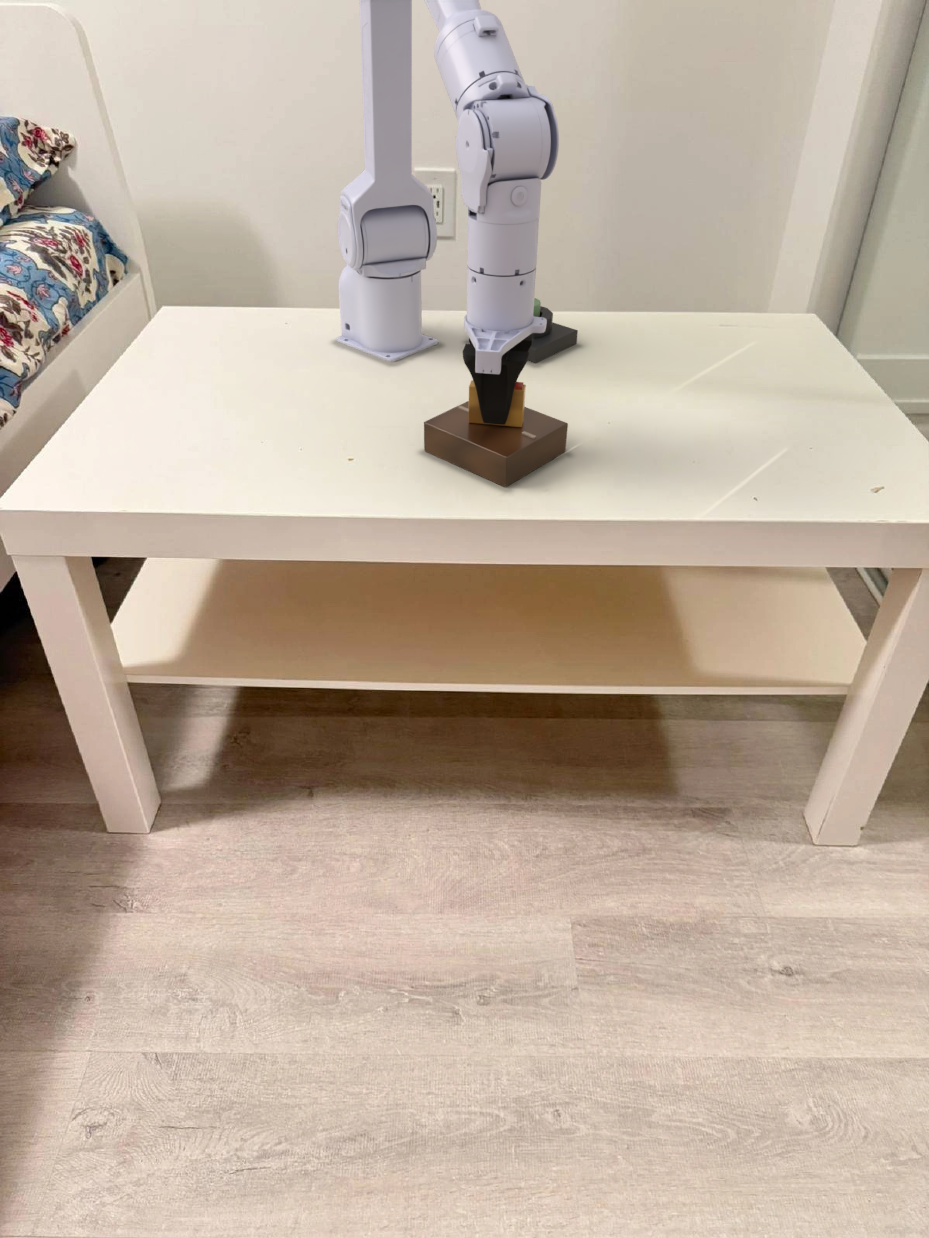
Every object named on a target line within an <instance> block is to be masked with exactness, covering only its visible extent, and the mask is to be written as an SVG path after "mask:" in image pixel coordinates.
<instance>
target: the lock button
mask: <svg viewBox="0 0 929 1238" xmlns="http://www.w3.org/2000/svg"><path fill="white" fill-rule="evenodd" d="M541 304H542V302H541V300H540V299H538V298H536V297H534V311H533V316H535V317H540V306H542V305H541Z"/></svg>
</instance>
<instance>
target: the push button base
mask: <svg viewBox="0 0 929 1238" xmlns="http://www.w3.org/2000/svg"><path fill="white" fill-rule="evenodd" d="M540 317H543V318H546V320H547V324H546V330H545V332H544V333H533V342H532V345H531V347H530V348H529V350H528V352H529V357H528V360H527V362H529V363H532V364H537V363H539V362H541V361H544V360H546V359H549V358H550V357H552V356H554V355H556V354H559V353H561V352H563V351H564V350H567V349H569V348H571V347H573V346H575V345H577V344H578V343H577V342H578V332H579V331H578V330H577V329H575V328H572V327H569V326H565V325H562V324H560V323H555V322H553V319H554V312H552V311H551V310H550V309H549V308H548V307H545V306H542V305H540Z"/></svg>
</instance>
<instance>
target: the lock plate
mask: <svg viewBox="0 0 929 1238" xmlns="http://www.w3.org/2000/svg"><path fill="white" fill-rule="evenodd" d="M468 413H469V400H467V401H465V402H463V403H460V404H458V405H456V406H454V407H452V408H450V409H448V410H446V411H444V412H442V413H440V414H437V415H435V416H434V417H432V418H429V419H428V420H426V421H424V422H423V447H424V448H423V450H424V452H426V453H428V454H431V455H432V456H435V457H437V458H439V459H442V460H444V461H446V462H448V463H450V464H453V465H455V466H457V467H459V468H461V469H464V470H466V471H468V472H471V473H473V474H474V475H475V474H476V475H477V476H479V477H482V478H484V479H486V480H489V481H491V482H493V483H495V484H498V485H500V486H501V487H504V488H506V487H508V486H510V485H511V484H514V483H516V482H517V481H518V480H520V479H522V478H524V477H525V476H527V475H528V474H530V473H532V472H534V471H535V470H537V469H539V468H541V467H542V466H544V465H545V464H548V463H549V462H550V461H552V460H554V459H556V458H557V457H559V456H561V455H562V454H564V453H566V451H567V450H566V449H567V437H568V427H569V423H568V422H566V421H563V420H560V419H558V418H555V417H552V416H550V415H547V414H545V413H542V412H539V411H537V410H534V409H532V408H529V407H526V406H524V421H523V425H522V427H512V426H501V425H489V424H477V423H469V422H468Z"/></svg>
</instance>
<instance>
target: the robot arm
mask: <svg viewBox="0 0 929 1238" xmlns="http://www.w3.org/2000/svg"><path fill="white" fill-rule="evenodd" d="M358 1H359V2H358V3H359V29H360V59H361V60H360V61H361V90H362V121H363V123H362V124H363V125H362V126H363V152H364V153H363V155H364V170H363V171H362V172H361V173H359V174H358V175H357V176H356V177H355V178H354V179H352V180H351V181H350V182H349V183H347V185H345V186H344V187H343V188H342V189H341V191H340V196H339V212H338V217H337V226H336V227H337V237H338V245H339V250H340V254H341V256H342V259H343V261H344V262H345V264H346V265H345V266H344V268H343V269H342V271H341V273H340V275H339V280H338V284H337V285H338V286H337V287H338V288H337V289H338V290H337V291H338V303H339V316H340V329H341V335H340V336H337V337H336V342H337V343H339V344H342V345H344V346H348V347H350V348H351V349H355V350H357V351H360V352H363V353H366V354H368V355H370V356H373V357H375V358H378V359H380V360H383V361H386V362H388V363H394V362H397V361H399V360H403V359H404V358H407V357H410V356H412V355H414V354H417V353H419V352H421V351H424V350H426V349H429V348H432V347H434V346H436V345H438V344H439V340H438V339H437V338H434V337H431V336H429V335H426V334H423V306H422V305H423V303H422V271H423V270H426V269H427V261H430V260H431V259H432V258H433V256H434V254H435V252H436V249H437V244H438V227H437V221H436V217H435V207H434V197H433V194H432V192H431V190H430V189H429V187H428V186H427V185H425V183H424V182H423V181H421V180H420V179H418V178H417V177H416V176H415V175H414V174H412V169H413V168H412V164H413V163H412V159H413V158H412V149H413V143H412V135H413V134H412V133H413V132H412V131H413V125H412V123H413V122H412V121H413V118H412V117H413V115H412V112H413V110H412V109H413V107H412V106H413V105H412V104H413V102H412V101H413V100H412V98H413V97H412V95H413V93H412V92H413V87H412V85H413V83H412V82H413V81H412V80H413V79H412V78H413V77H412V75H413V73H412V72H413V68H412V67H413V66H412V65H413V63H412V62H413V61H412V59H413V57H412V56H413V55H412V53H413V52H412V51H413V49H412V47H413V44H412V43H413V38H412V37H413V13H412V12H413V0H358ZM423 1H424V4H425V5H426V7H427V9H428V12H429V14H430V15H431V18H432V20H433V21H434V24H435V26H436V28H437V30H438V32H439V33H438V35H437V37H436V40H435V43H434V47H433V57H434V61H435V63H436V66H437V69H438V71H439V74H440V78H441V79H442V82H443V85H444V87H445V90H446V93H447V96H448V98H449V101H450V105H451V106H452V109H453V112H454V115H455V118H456V120H457V123H458V124H457V127H456V128H457V129H456V136H455V138H454V139H455V153H456V160H457V165H458V169H459V173H460V182H461V197H462V204H463V206H466V207H467V250H466V251H467V255H466V256H467V257H466V258H467V259H466V262H467V263H466V314H465V315H464V318H463V328H464V330H465V332H466V334H467V336H468V343H465V345H464V347H463V349H462V359H463V363H464V365H465V367H466V368H467V370H468V372H469V374H470V375H471V378H472V380H473V381H474V384H475V387H476V391H477V396H478V401H479V407H480V412H481V416H482V420H483V422H484V423H490V424H502V425H504V424H505V423H506V421H507V418H508V415H509V411H510V407H511V402H512V397H513V392H514V387H515V384H516V382H518V379H519V377H520V375H521V373H522V371H523V370H524V368H525V366H526V364H527V363H528V361H527V360H528V357H529V352H528V350H529V348H530V347H531V345H532V342H533V333H544V332H545V330H546V324H547V320H546V318H543V317H535V316H533V311H534V298H535V292H536V278H537V277H536V276H537V262H538V260H537V259H538V245H539V244H538V243H539V229H540V228H539V227H540V214H541V213H540V211H541V196H542V181H545V180H546V179H548V178H549V177H550V176H551V175H552V173H553V171H554V169H555V167H556V164H557V161H558V156H559V147H560V133H559V131H560V130H559V124H558V119H557V116H556V113H555V109H554V106H553V103H552V101H551V99H550V98H549V97H548V96H547V95H546V94H543V93H539V92H538V90H537V88H536V87H535V85H528V84H526V83H525V82H526V81H525V80H524V78H523V75H522V71H521V69H520V67H519V64H518V61H517V59H516V57H515V53H514V51H513V49H512V46H511V43H510V41H509V39H508V35H507V32H506V31H505V29H504V28H505V27H504V25H503V23H502V21H501V20H500V18H499V17H498V16H497V15H496V14H494V13H493V12H491V11H488V10H486V9H485V10H483V9H482V7H481V3H480V0H423Z"/></svg>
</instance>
